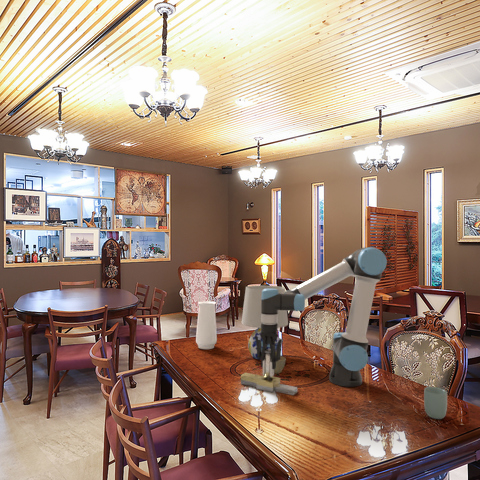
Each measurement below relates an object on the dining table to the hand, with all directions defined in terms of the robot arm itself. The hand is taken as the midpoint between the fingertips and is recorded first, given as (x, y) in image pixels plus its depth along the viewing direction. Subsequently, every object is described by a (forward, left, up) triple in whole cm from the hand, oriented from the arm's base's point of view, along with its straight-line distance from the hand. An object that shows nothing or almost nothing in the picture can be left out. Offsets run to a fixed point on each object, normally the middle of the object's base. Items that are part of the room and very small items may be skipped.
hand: (268, 375), depth 173 cm
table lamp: (+23, -44, -6) cm, 50 cm away
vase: (+63, -43, -6) cm, 76 cm away
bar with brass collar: (0, 0, -6) cm, 6 cm away
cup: (-67, -6, -6) cm, 68 cm away
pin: (0, 0, -3) cm, 3 cm away
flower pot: (+6, -22, -6) cm, 24 cm away
